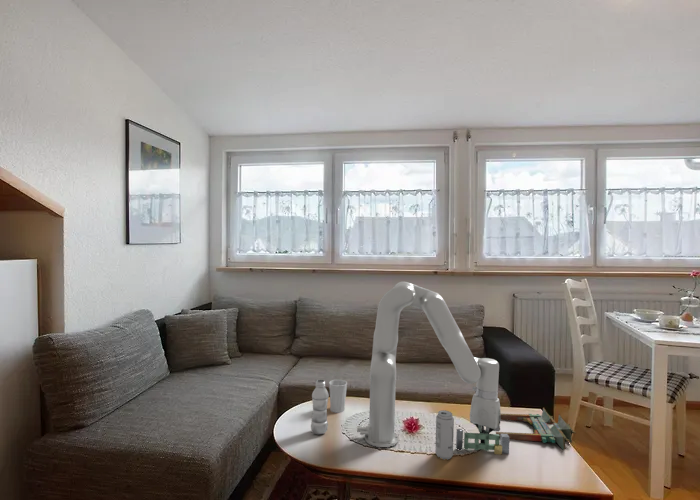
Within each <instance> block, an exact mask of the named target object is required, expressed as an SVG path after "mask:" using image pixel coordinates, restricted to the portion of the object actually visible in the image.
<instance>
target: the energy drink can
mask: <svg viewBox="0 0 700 500" xmlns="http://www.w3.org/2000/svg"><path fill="white" fill-rule="evenodd" d="M454 423H455V418H454V417H453V413H452V412H451V411H449V410H444V409H442V410H439V411H438V412H437V415H436V416H435V454H436V456H437V458H439V457H440V458H439V459H441V458H442V459H441V460H445V459H447V460H450V459H452V457H453V456H454V435H455V432H454V430H455V429H454V428H455V424H454Z"/></svg>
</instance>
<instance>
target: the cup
mask: <svg viewBox="0 0 700 500" xmlns="http://www.w3.org/2000/svg"><path fill="white" fill-rule="evenodd" d="M328 385H329V389H328V390H329V403H330V404H329V405H330V407H329V408H330V409H329V410H330V412H332V413H336V414H337V413H338V414H339V413H344V411H345V410H346V407H345V406H346V399H347V398H346V397H347V388H348V387H347V386H348V381H346V380H345V379H344V380H343V379H332V380H330V381H329V382H328Z"/></svg>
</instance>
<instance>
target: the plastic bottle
mask: <svg viewBox="0 0 700 500" xmlns="http://www.w3.org/2000/svg"><path fill="white" fill-rule="evenodd" d="M314 386H315V388H314V389H313V391H312V394H311V399H312V415H311V416H312V418H311V419H312V420H311V422H310V423H311V424H310V429H311V432H312V433H313V434H315V435H323V434H325V433H326V432H327V431H328V427H329V423H328V412H327V410H328V402H329V398H330V393H329V391H328V390H327V388H326V380H325V379H316V381H315V385H314Z"/></svg>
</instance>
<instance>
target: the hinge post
mask: <svg viewBox="0 0 700 500" xmlns="http://www.w3.org/2000/svg"><path fill="white" fill-rule="evenodd" d="M455 438H456V439H455V440H456V442H455V443H456V444H455V445H456V446H455V449H456V448H457V449H459V450H461V449H462V450H463V447H464V441H463V440H464V430H463V429H462V428H457V429H456V437H455Z"/></svg>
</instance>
